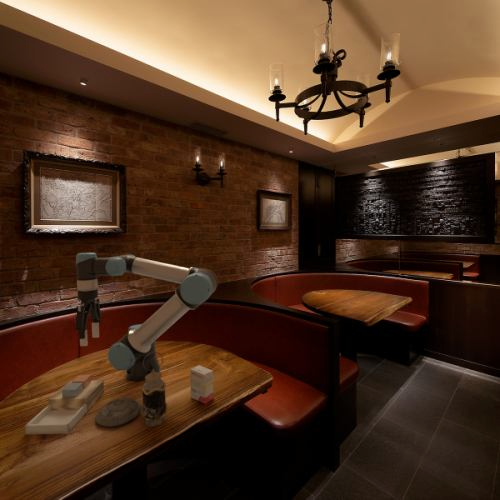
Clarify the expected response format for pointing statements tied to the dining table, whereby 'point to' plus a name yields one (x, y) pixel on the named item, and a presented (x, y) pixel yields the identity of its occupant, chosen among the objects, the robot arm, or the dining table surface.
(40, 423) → the tray
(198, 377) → the ink box
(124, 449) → the dining table surface
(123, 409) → the flying saucer
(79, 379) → the salmon orange square block
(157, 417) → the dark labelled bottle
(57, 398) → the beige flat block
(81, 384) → the slate gray square block
